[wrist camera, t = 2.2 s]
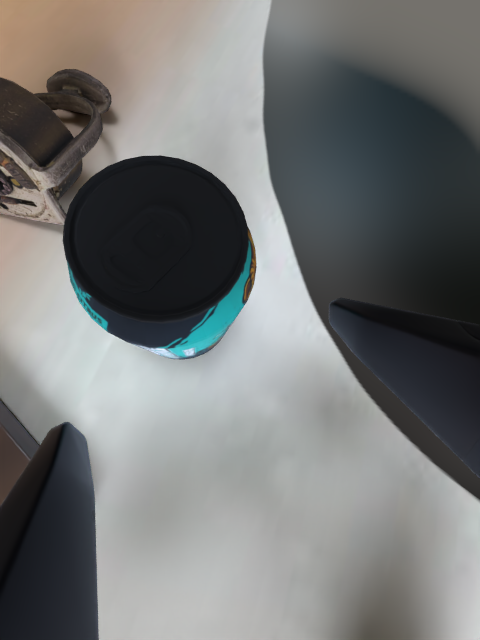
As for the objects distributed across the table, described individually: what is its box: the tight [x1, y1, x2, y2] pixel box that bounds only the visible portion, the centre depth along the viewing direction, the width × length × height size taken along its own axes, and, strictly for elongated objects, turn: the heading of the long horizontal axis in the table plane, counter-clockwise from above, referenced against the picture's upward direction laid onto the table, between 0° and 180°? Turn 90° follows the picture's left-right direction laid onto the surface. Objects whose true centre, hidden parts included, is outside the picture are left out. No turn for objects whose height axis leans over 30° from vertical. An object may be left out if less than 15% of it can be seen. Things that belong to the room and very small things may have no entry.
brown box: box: [0, 400, 39, 506], centre depth 16 cm, size 11×3×2 cm, turn 43°
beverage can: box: [63, 156, 256, 359], centre depth 14 cm, size 7×7×12 cm
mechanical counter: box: [0, 69, 111, 225], centre depth 17 cm, size 7×13×10 cm
